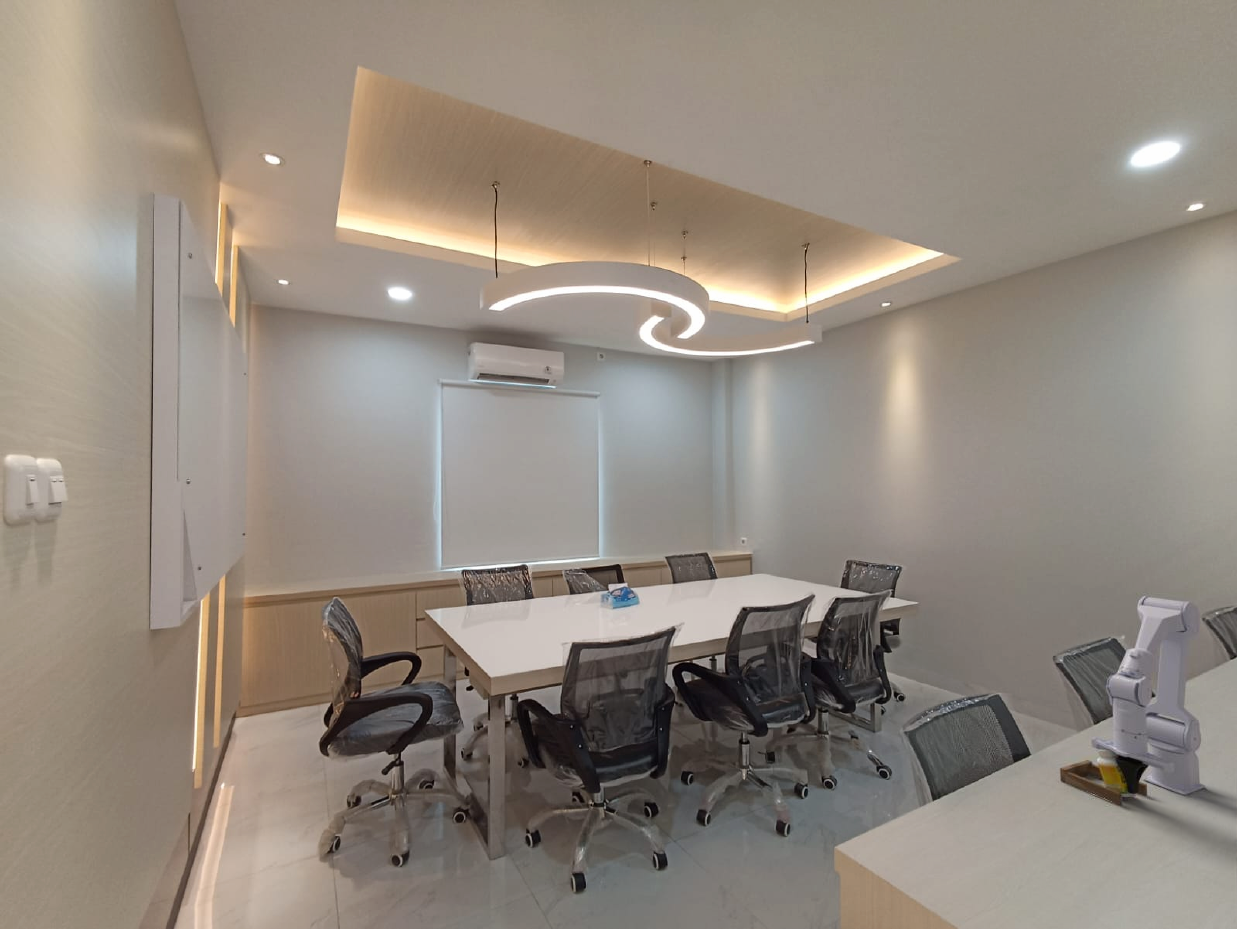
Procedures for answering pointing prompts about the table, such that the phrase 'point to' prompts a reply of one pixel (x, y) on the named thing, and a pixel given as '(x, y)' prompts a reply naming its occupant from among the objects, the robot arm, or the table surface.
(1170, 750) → the robot arm
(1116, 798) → the walnut slot rack
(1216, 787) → the table surface
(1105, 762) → the supplement bottle
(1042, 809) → the table surface
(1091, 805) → the table surface
